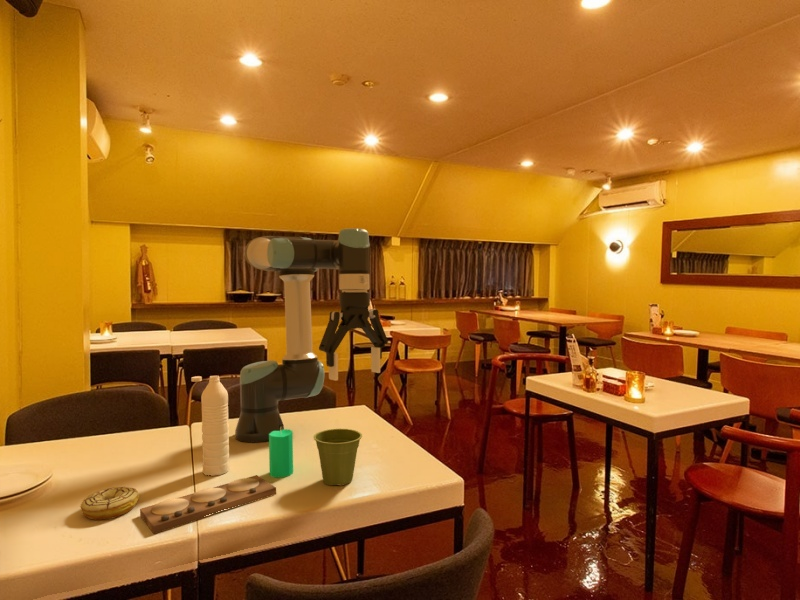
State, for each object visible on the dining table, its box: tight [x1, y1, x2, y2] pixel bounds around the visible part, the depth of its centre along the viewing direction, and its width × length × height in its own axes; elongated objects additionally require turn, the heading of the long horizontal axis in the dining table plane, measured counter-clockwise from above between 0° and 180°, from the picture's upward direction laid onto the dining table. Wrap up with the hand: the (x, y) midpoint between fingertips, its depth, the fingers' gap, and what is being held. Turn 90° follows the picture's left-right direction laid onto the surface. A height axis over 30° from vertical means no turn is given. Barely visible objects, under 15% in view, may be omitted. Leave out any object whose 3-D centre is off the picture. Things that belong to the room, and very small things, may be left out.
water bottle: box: [190, 375, 230, 477], centre depth 123 cm, size 9×6×25 cm
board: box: [139, 475, 277, 535], centre depth 105 cm, size 10×26×2 cm, turn 132°
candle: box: [268, 427, 294, 478], centre depth 123 cm, size 6×6×12 cm
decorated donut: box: [79, 486, 140, 521], centre depth 103 cm, size 10×11×4 cm
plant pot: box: [313, 428, 363, 486], centre depth 118 cm, size 12×12×11 cm
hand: (355, 375), depth 120 cm, fingers open, 13 cm apart
